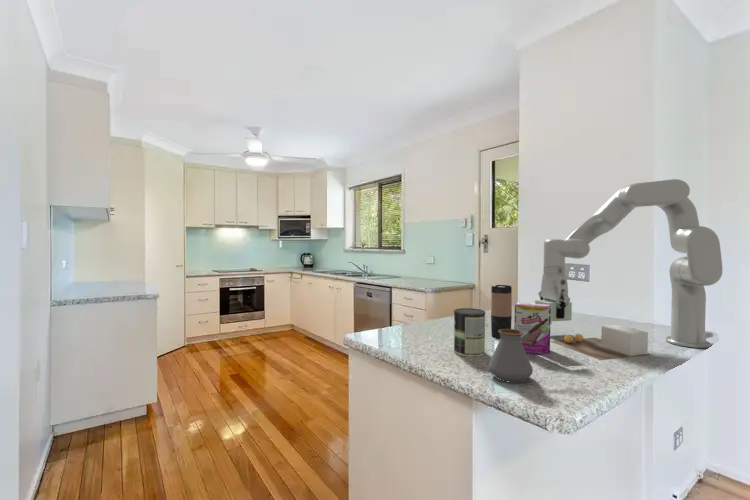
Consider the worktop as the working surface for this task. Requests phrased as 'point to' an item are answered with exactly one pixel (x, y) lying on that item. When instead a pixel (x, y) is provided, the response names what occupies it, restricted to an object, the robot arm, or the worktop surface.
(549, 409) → the worktop surface
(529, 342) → the candy bar box
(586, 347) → the walnut board
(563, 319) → the pale green block
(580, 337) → the marble
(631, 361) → the worktop surface
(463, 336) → the coffee can
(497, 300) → the travel mug
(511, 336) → the coffee pot
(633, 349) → the white block
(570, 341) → the marble
